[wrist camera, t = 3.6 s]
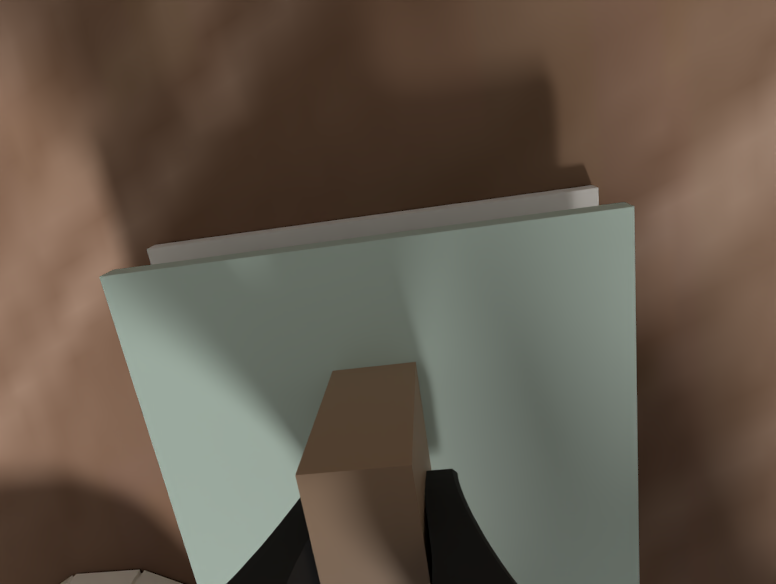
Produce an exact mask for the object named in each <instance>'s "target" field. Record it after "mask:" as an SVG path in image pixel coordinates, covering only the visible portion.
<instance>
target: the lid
mask: <svg viewBox="0 0 776 584" xmlns="http://www.w3.org/2000/svg"><path fill="white" fill-rule="evenodd" d="M100 280H101V283H102V287H103V290H104V293H105V296H106V299H107V302H108V305H109V309H110V312H111V315H112V318H113V321H114V324H115V327H116V331H117V334H118V337H119V340H120V343H121V346H122V350H123V353H124V356H125V359H126V362H127V365H128V368H129V372H130V375H131V378H132V381H133V384H134V387H135V391H136V394H137V397H138V400H139V403H140V406H141V409H142V413H143V416H144V419H145V422H146V425H147V428H148V431H149V435H150V438H151V441H152V444H153V447H154V450H155V454H156V457H157V460H158V463H159V466H160V469H161V472H162V476H163V479H164V482H165V485H166V488H167V491H168V495H169V498H170V501H171V504H172V507H173V510H174V513H175V517H176V520H177V523H178V526H179V529H180V532H181V535H182V539H183V542H184V545H185V548H186V551H187V554H188V558H189V561H190V564H191V567H192V570H193V573H194V576H195V580H196V583H197V584H226V583H227V582H228V581H229V580H230V579H231V578H232V577H233V576H234V575H235V574H236V573H237V572H238V571H239V570H240V569H241V568H242V567H243V566H244V565H245V563H246V562H247V561H248V560H249V559H250V558H251V557H252V556H253V555H254V553H255V552H256V551H257V550H258V549H259V548H260V547H261V546H262V544H263V543H264V542H265V541H266V540H267V538H268V537H269V536H270V535H271V533H272V532H273V531H274V530H275V529H276V527H277V526H278V525H279V524H280V522H281V521H282V520H283V519H284V517H285V516H286V515H287V514H288V512H289V511H290V510H291V508H292V507H293V506H294V505H295V503H296V502H297V501H298V499H299V498H301V502H302V507H303V511H304V515H305V520H306V524H307V528H308V532H309V537H310V541H311V545H312V550H313V554H314V558H315V563H316V567H317V571H318V575H319V580H320V584H432V552H431V544H430V537H429V529H428V521H427V513H426V505H425V480H426V471H430V470H441V469H453V470H455V471H456V472H457V473H458V479H459V483H460V486H461V489H462V492H463V494H464V497H465V499H466V501H467V503H468V506H469V508H470V510H471V512H472V514H473V516H474V518H475V519H476V521H477V523H478V525H479V527H480V528H481V530H482V532H483V534H484V536H485V537H486V539H487V541H488V542H489V544H490V545H491V547H492V548H493V550H494V552H495V553H496V555H497V556H498V558H499V559H500V561H501V562H502V564H503V565H504V566H505V568H506V569H507V571H508V572H509V573H510V575H511V576H512V577H513V579H514V580H515V581H516V583H517V584H639V514H638V441H637V368H636V295H635V222H634V206H632V205H630V204H628V203H626V202H621V203H614V204H606V205H598V206H591V207H583V208H576V209H568V210H561V211H553V212H546V213H538V214H530V215H523V216H515V217H508V218H500V219H493V220H485V221H478V222H470V223H463V224H455V225H447V226H440V227H432V228H425V229H417V230H410V231H402V232H395V233H387V234H379V235H372V236H364V237H357V238H349V239H342V240H334V241H327V242H319V243H312V244H304V245H296V246H289V247H281V248H274V249H266V250H259V251H251V252H244V253H236V254H228V255H221V256H213V257H206V258H198V259H191V260H183V261H176V262H168V263H160V264H153V265H145V266H138V267H130V268H123V269H115V270H112V271H110V272H108V273H106V274H104V275H102V276H100Z"/></svg>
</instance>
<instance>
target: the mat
mask: <svg viewBox="0 0 776 584" xmlns="http://www.w3.org/2000/svg"><path fill="white" fill-rule="evenodd" d="M598 205H599V195H598V187H596V186H594V185H589V186H582V187H574V188H567V189H560V190H553V191H545V192H538V193H531V194H523V195H516V196H509V197H501V198H494V199H487V200H479V201H472V202H465V203H457V204H450V205H443V206H435V207H428V208H421V209H414V210H406V211H399V212H392V213H384V214H377V215H370V216H362V217H355V218H348V219H340V220H333V221H326V222H318V223H311V224H304V225H297V226H289V227H282V228H275V229H267V230H260V231H253V232H245V233H238V234H231V235H223V236H216V237H209V238H201V239H194V240H187V241H180V242H172V243H165V244H158V245H154V246H152V247H150V248H148V249H147V253H148V256H149V259H150V263H151V265H153V264H160V263H168V262H176V261H183V260H191V259H198V258H206V257H213V256H221V255H228V254H236V253H244V252H251V251H259V250H266V249H274V248H281V247H289V246H296V245H304V244H312V243H319V242H327V241H334V240H342V239H349V238H357V237H364V236H372V235H379V234H387V233H395V232H402V231H410V230H417V229H425V228H432V227H440V226H447V225H455V224H463V223H470V222H478V221H485V220H493V219H500V218H508V217H515V216H523V215H530V214H538V213H546V212H553V211H561V210H568V209H576V208H583V207H591V206H598Z"/></svg>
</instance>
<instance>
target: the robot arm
mask: <svg viewBox="0 0 776 584" xmlns="http://www.w3.org/2000/svg"><path fill="white" fill-rule="evenodd" d="M425 505H426V513H427V521H428V529H429V537H430V544H431V552H432V584H517V583H516V581H515V580H514V579H513V577H512V576H511V575H510V573H509V572H508V571H507V569H506V568H505V566H504V565H503V564H502V562H501V561H500V559H499V558H498V556H497V555H496V553H495V552H494V550H493V548H492V547H491V545H490V544H489V542H488V541H487V539H486V537H485V536H484V534H483V532H482V530H481V528H480V527H479V525H478V523H477V521H476V519H475V518H474V516H473V514H472V512H471V510H470V508H469V506H468V503H467V501H466V499H465V497H464V494H463V492H462V489H461V486H460V483H459V479H458V473H457V472H456V471H455V470H453V469H441V470H430V471H426V480H425ZM226 584H320V580H319V575H318V571H317V567H316V563H315V558H314V554H313V550H312V545H311V541H310V537H309V532H308V528H307V524H306V520H305V515H304V511H303V507H302V502H301V498H299V499H298V501H297V502H296V503H295V505H294V506H293V507H292V508H291V510H290V511H289V512H288V514H287V515H286V516H285V517H284V519H283V520H282V521H281V522H280V524H279V525H278V526H277V527H276V529H275V530H274V531H273V532H272V533H271V535H270V536H269V537H268V538H267V540H266V541H265V542H264V543H263V544H262V546H261V547H260V548H259V549H258V550H257V551H256V552H255V553H254V555H253V556H252V557H251V558H250V559H249V560H248V561H247V562H246V563H245V565H244V566H243V567H242V568H241V569H240V570H239V571H238V572H237V573H236V574H235V575H234V576H233V577H232V578H231V579H230V580H229V581H228V582H227V583H226Z"/></svg>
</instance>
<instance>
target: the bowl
mask: <svg viewBox="0 0 776 584" xmlns="http://www.w3.org/2000/svg"><path fill="white" fill-rule="evenodd" d="M60 584H182V583H179V582H177V581H174V580H171V579H168V578H165V577H162V576H160V575H157V574H154V573H151V572H148V571H145V570H144V572H143V573H141V572H140V570H126V571H112V572H98V573H84V574H76V575H75V576H74V577H73V576H70V577H69V578H68V579H66V580H65V581H63V582H62V583H60Z"/></svg>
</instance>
